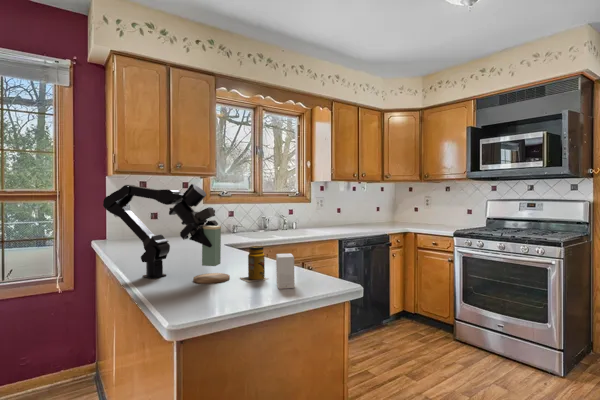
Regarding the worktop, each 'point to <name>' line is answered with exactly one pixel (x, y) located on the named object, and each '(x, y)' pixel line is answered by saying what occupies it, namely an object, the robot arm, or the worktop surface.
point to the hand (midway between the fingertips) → (214, 245)
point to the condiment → (255, 264)
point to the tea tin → (213, 253)
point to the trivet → (211, 278)
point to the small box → (285, 271)
